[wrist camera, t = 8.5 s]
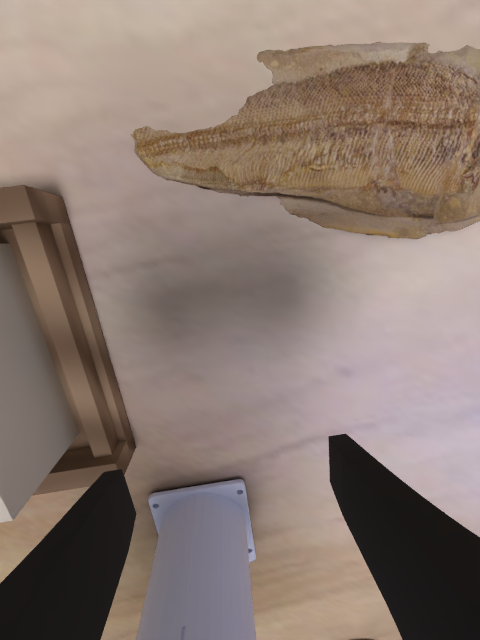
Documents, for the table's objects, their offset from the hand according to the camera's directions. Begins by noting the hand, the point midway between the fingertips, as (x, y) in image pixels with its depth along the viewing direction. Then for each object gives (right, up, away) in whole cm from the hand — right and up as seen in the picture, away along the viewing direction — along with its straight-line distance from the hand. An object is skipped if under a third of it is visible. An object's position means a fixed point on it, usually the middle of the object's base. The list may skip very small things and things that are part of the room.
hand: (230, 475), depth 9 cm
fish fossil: (+7, +17, +7) cm, 19 cm away
